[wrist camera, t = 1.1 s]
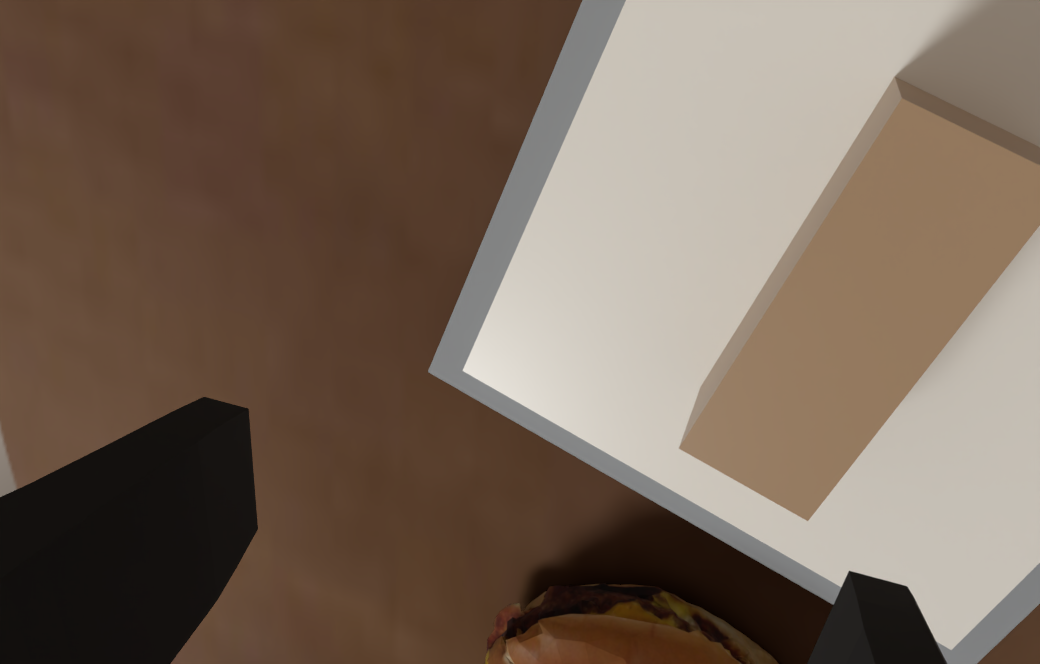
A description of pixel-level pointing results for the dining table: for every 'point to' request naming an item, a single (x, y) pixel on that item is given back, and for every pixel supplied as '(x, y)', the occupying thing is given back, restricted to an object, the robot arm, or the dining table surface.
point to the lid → (804, 282)
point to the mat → (448, 364)
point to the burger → (616, 630)
